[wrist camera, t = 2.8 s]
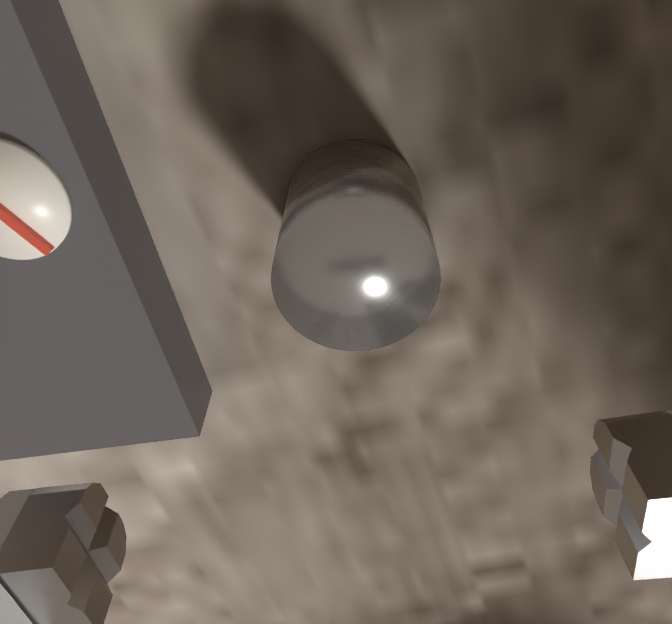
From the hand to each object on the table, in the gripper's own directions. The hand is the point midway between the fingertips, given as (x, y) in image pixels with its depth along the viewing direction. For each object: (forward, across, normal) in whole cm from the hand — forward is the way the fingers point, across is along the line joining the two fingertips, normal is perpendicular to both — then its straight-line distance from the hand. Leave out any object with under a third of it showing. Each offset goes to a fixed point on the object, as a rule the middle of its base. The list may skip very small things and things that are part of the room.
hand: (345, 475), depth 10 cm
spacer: (+12, -1, 0) cm, 12 cm away
